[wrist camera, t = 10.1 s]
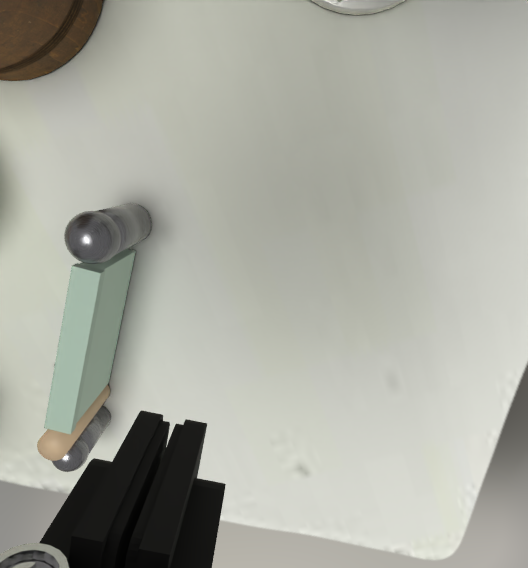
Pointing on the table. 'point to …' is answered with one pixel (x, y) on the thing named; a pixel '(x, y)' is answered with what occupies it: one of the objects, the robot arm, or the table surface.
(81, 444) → the post
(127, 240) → the hinge post
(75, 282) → the gate
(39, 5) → the wooden container
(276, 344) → the table surface
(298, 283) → the table surface
